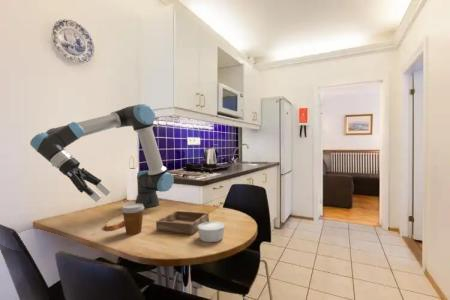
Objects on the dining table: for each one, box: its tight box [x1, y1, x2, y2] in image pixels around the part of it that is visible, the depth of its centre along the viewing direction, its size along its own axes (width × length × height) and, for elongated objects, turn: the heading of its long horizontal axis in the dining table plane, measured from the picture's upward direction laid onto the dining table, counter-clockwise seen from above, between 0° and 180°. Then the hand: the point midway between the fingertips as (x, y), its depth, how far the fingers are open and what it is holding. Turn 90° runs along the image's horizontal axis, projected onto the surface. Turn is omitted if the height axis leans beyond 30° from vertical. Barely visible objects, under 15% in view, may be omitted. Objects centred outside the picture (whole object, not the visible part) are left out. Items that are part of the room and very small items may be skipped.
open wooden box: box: [155, 210, 210, 236], centre depth 114 cm, size 18×18×4 cm
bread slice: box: [103, 214, 125, 232], centre depth 121 cm, size 18×18×4 cm
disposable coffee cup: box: [121, 203, 145, 236], centre depth 107 cm, size 10×10×12 cm
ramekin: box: [197, 221, 226, 243], centre depth 98 cm, size 11×11×5 cm
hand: (104, 196), depth 106 cm, fingers open, 13 cm apart
